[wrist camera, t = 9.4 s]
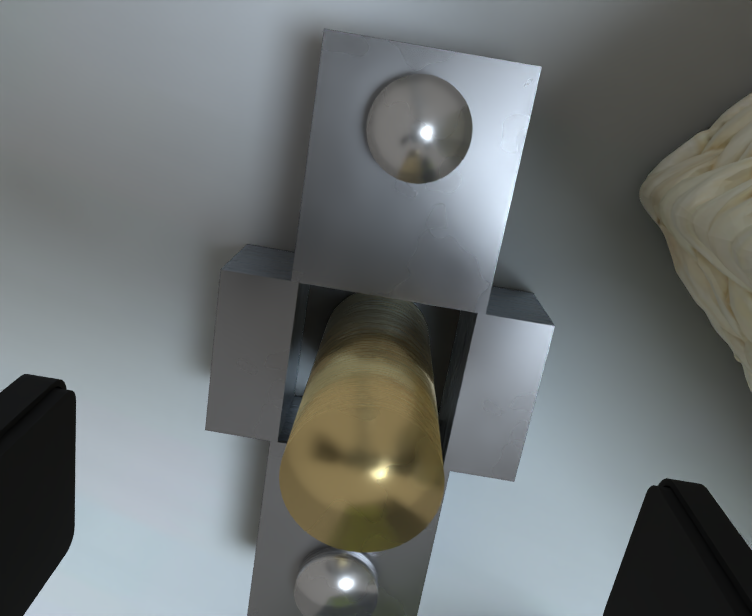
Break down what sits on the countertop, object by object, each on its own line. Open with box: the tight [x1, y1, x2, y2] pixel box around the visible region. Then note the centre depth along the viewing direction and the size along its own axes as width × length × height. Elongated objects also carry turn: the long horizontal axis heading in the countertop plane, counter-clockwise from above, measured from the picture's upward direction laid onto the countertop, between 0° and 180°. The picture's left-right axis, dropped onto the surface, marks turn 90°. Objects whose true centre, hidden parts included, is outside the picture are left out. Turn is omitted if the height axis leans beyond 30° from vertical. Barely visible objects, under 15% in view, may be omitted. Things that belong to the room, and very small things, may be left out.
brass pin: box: [279, 293, 445, 552], centre depth 17 cm, size 3×3×8 cm
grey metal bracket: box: [205, 29, 555, 616], centre depth 19 cm, size 17×9×4 cm, turn 171°
